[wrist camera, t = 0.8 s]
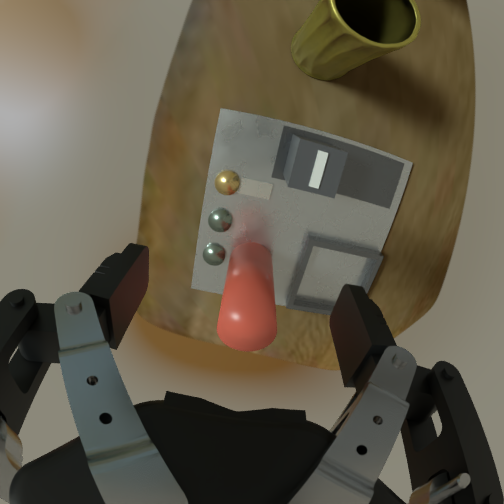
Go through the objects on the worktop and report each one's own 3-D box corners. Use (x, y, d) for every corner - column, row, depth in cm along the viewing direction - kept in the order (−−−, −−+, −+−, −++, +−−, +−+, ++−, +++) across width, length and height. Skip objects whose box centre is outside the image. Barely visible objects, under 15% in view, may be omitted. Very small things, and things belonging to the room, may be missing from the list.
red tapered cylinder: (233, 238, 31) (221, 302, 21) (276, 247, 31) (284, 313, 21) (226, 275, 33) (213, 345, 23) (266, 282, 33) (268, 355, 23)
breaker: (292, 133, 25) (300, 138, 21) (333, 145, 26) (348, 152, 21) (282, 173, 27) (287, 187, 23) (322, 183, 28) (335, 199, 23)
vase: (364, 64, 22) (446, 38, 10) (315, 91, 24) (367, 74, 11) (329, 15, 20) (382, -48, 7) (277, 41, 22) (294, -19, 9)
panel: (221, 108, 25) (219, 108, 24) (410, 161, 27) (418, 165, 25) (192, 285, 34) (189, 293, 33) (350, 313, 36) (353, 322, 34)
